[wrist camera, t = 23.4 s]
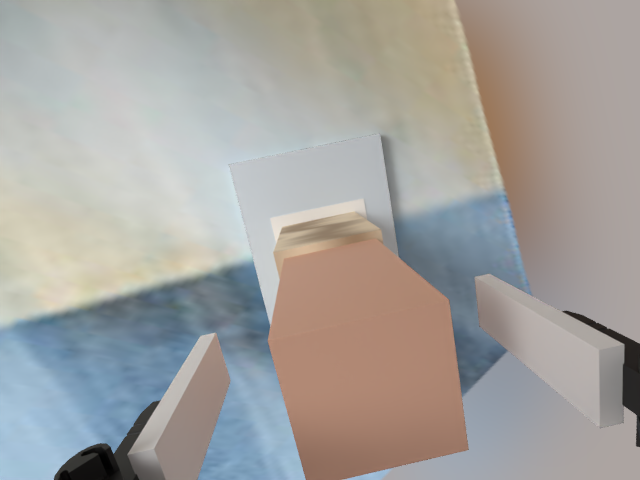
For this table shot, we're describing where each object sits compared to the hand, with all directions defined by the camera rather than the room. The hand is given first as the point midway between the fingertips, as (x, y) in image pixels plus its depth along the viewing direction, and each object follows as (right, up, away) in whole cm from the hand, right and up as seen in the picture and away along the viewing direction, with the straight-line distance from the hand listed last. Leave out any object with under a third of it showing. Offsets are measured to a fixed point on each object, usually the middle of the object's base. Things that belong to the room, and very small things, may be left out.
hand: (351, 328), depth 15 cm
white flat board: (-1, +3, +16) cm, 16 cm away
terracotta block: (0, +1, +5) cm, 5 cm away
